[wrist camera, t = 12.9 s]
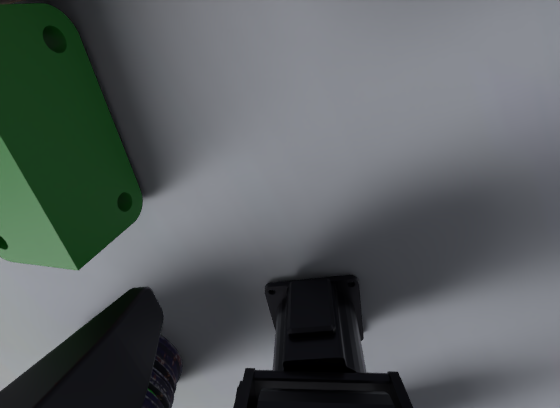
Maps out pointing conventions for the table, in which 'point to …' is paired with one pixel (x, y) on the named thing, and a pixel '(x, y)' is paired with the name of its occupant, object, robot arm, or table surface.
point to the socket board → (9, 1)
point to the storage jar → (163, 376)
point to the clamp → (57, 146)
